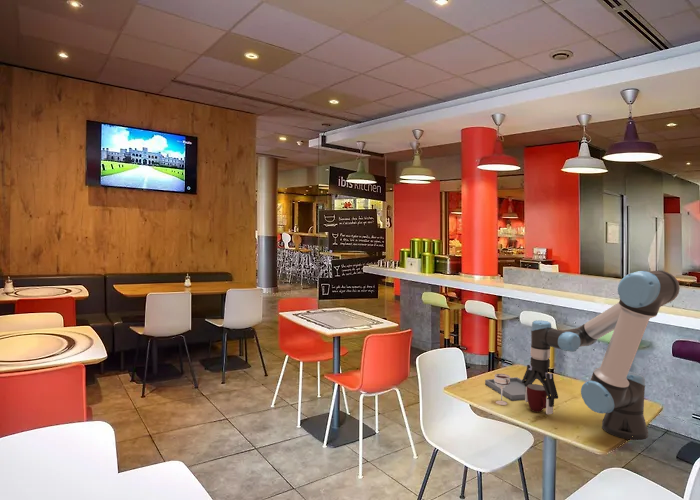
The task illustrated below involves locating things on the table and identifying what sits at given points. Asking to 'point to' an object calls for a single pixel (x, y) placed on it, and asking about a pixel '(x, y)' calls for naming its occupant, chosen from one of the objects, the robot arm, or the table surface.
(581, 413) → the table surface
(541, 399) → the mug
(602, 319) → the robot arm
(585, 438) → the table surface
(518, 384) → the tray
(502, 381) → the wineglass
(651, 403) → the table surface
